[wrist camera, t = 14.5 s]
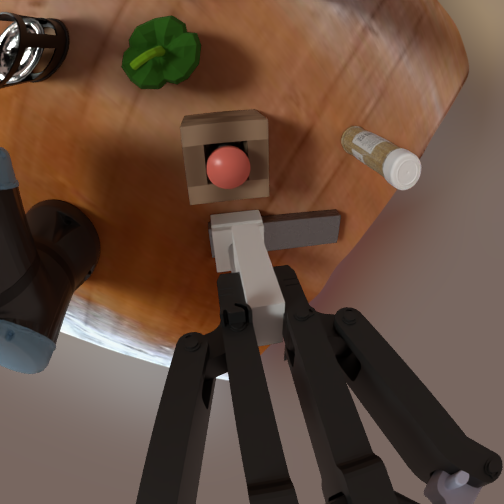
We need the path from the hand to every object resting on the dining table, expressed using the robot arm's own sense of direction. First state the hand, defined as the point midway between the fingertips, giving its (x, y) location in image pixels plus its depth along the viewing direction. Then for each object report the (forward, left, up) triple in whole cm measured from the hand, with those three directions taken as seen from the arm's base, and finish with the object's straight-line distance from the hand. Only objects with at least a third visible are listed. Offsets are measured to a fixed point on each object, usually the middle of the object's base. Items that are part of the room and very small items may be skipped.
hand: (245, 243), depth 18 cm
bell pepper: (-6, +13, -24) cm, 28 cm away
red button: (0, 0, -22) cm, 22 cm away
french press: (-24, +19, -24) cm, 39 cm away
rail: (+7, -14, -24) cm, 28 cm away
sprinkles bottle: (+19, 0, -24) cm, 31 cm away
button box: (0, 0, -24) cm, 24 cm away
